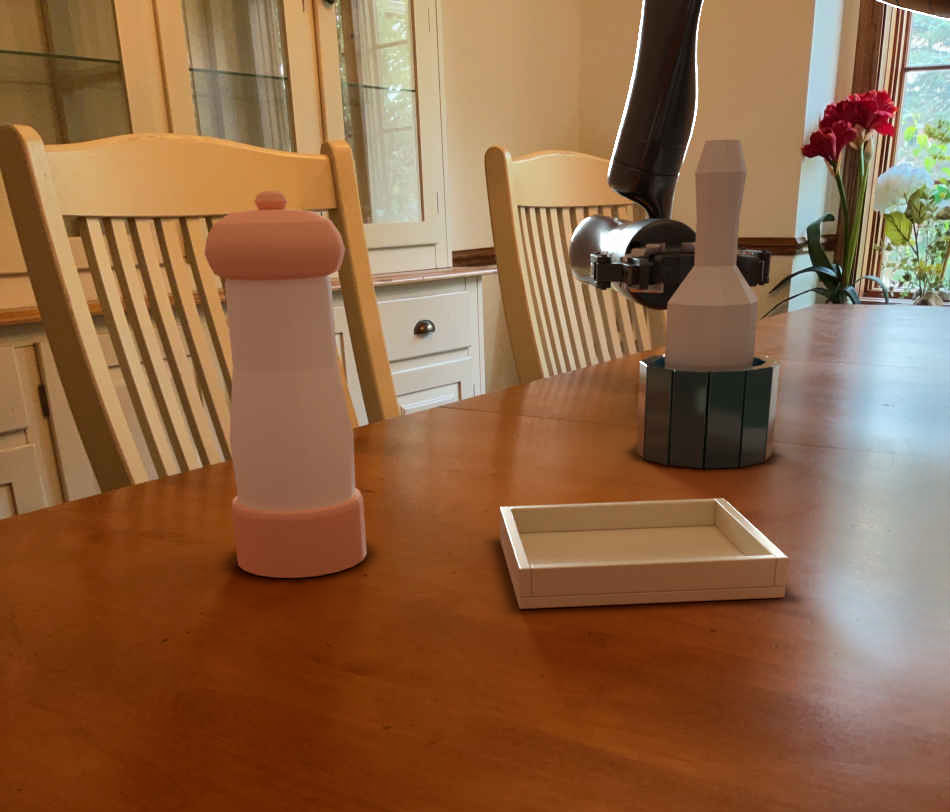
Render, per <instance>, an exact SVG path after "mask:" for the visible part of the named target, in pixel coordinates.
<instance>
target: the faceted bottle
mask: <svg viewBox="0 0 950 812" xmlns="http://www.w3.org/2000/svg"><path fill="white" fill-rule="evenodd" d="M747 173H748V170H747V167H746V161H745V156H744V151H743V146H742V141H741V140H740V139H714V140H712V139H711V140H705V141H704V145H703V148H702V149H701V153H700V156H699V160H698V163H697V166H696V169H695V173H694V179H695V205H696V206H695V207H696V209H695V210H696V225H695V232H696V242H695V260H694V267H693V268H692V270H691V271H690V272H689V274H688V275H687V276H686V278H685V279H684V281H683V282H682V283H681V285H680V286H679V288H678V289H677V290H676V292H675V293H674V294H673V296H672V297H671V299H670V300H669V301H668V303H667V310H666V324H665V325H666V326H665V347H664V350H665V351H664V355H665V366H668V367H675V368H683V369H705V370H715V369H740V368H747V367H752V364H753V359H754V355H755V347H756V335H757V321H758V309H759V299H758V298H757V296H756V295H755V293H754V291H753V290H752V287H749V285H748V283H747V282H746V280H745V278H744V277H743V275H742V274H741V272H740V270H739V269H738V267H737V266H736V259H737V250H738V244H739V243H738V242H739V230H740V229H739V228H740V227H739V226H740V217H741V211H742V205H743V204H742V203H743V197H744V191H745V186H746V180H747V179H746V178H747Z"/></svg>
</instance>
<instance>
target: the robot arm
mask: <svg viewBox="0 0 950 812" xmlns="http://www.w3.org/2000/svg"><path fill="white" fill-rule="evenodd" d="M877 2H881V3H883V4H886V5H890V6H892V7H895V8H899V9H902V10H906V11H910V12H913V13H917V14H921V15H925V16H930V17H934V18H937V19H942V20H947V21H950V0H877ZM703 3H704V0H642V8H641V15H640V17H641V18H640V24H639V32H638V40H637V46H636V53H635V60H634V65H633V71H632V76H631V80H630V84H629V90H628V93H627V97H626V102H625V106H624V110H623V113H622V118H621V121H620V125H619V129H618V132H617V136H616V140H615V144H614V148H613V151H612V155H611V158H610V162H609V167H608V171H607V177H606V179H607V180H606V181H607V185H608V187H609V188H610V190H611V191H612V192H613V193H615V194H616V195H619V196H620V197H621V198H624V199H625V200H628V201H630V202H632V203H633V204H636V205H638V206H639V207H641V208H642V209H643V210H644V211H645V216H644V219H640V220H633V221H632V220H628V219H623V218H618V217H615V216H609V215H605V214H599V213H597V214H596V213H595V214H592V215H589V216H587V217H586V218H584V219H583V220H582V221H581V222H580V223H579V224H578V226H577V227H576V228H575V230H574V232H573V234H572V237H571V239H570V243H569V248H568V263H569V267H570V270H571V272H572V274H573V277H574V278H575V279H576V280H577V281H578V282H579V283H581V284H584V285H588V286H593V288H595V289H600V291H607V290H612V291H613V290H614V291H615V292H617V293H619V294H620V295H621V296H622V297H624V298H625V299H626V300H629V301H630V302H632V303H635V304H637V305H640V306H642V307H644V308H646V309H650V310H655V311H667V303H668V301H669V300H670V299H671V297H672V296H673V294H674V293H675V292H676V290H677V289H678V288H679V286H680V285H681V283H682V282H683V281H684V279H685V278H686V276H687V275H688V274H689V272H690V271H691V270H692V268H693V267H694V260H695V242H696V230H695V229H693V227H691V226H689V225H688V224H686V223H684V222H682V221H680V220H676V219H672V215H673V207H674V206H673V205H674V198H675V193H676V188H677V184H678V182H679V181H678V180H679V177H680V173H681V170H682V167H683V164H684V162H685V161H684V160H685V157H686V154H687V151H688V147H689V145H690V141H691V138H692V135H693V131H694V127H695V122H696V116H697V111H698V98H699V97H698V95H699V83H698V80H699V79H698V34H699V23H700V17H701V12H702V8H703ZM771 259H772V251H768V249H760V250H756V249H747V247H740V248H739V249H737V259H736V266H737V267H738V269H739V270H740V272H741V274H742V275H743V277H744V278H745V280H746V282H747V283H748V285H749V287H750V288H756V287H757V286H765V284H767V285H768V284H770V278H771V277H770V270H771Z"/></svg>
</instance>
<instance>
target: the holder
mask: <svg viewBox="0 0 950 812" xmlns="http://www.w3.org/2000/svg"><path fill="white" fill-rule="evenodd" d="M780 367H781V361H779V360H777V359H774V358H772V357H769V356H765V355H758V354H757V355H756V354H754V359H753V364H752V367H747V368H740V369H715V370H705V369H683V368H675V367H668V366H665V354H658V355H652V356H651V355H650V356H648V357H645V358H644V359H641V360H639V374H638V375H639V378H638V405H637V430H636V431H637V432H636V453H637V455H639V456H640V457H641V458H642V459H643V460H644V461H647V462H648V461H649V462H652V463H656V464H660V465H664V466H670V467H675V468H689V469H700V470H702V469H704V470H711V469H713V470H715V469H737V468H744V467H749V466H753V465H759V464H763V463H765V462H766V461H767V460H768V459H769V458H770V457H771V456H772V455H773V448H774V447H773V446H774V435H775V434H774V433H775V425H776V423H775V422H776V414H777V413H776V412H777V401H778V389H779V380H780V379H779V378H780V377H779V375H780Z"/></svg>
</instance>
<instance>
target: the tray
mask: <svg viewBox="0 0 950 812" xmlns="http://www.w3.org/2000/svg"><path fill="white" fill-rule="evenodd" d="M499 541H500V545H501V549H502V552H503V554H504V555H503V556H504V559H505V563H506V567H507V570H508V574H509V576H510V579H511V584H512V587H513V591H514V594H515V598H516V601H517V604H518V608H519V609H520V610H527V609H528V610H529V609H553V608H572V607H573V608H575V607H597V606H617V605H620V606H621V605H645V604H665V603H687V602H688V603H689V602H691V603H692V602H708V601H709V602H711V601H712V602H713V601H735V600H757V599H779V598H785V594H786V585H787V584H786V583H787V575H788V573H787V572H788V563H789V557H788V556H787V555H786V554H785V553H784V552H782V550H780V549H779V547H777V546H776V545H775V544H774V543H773V542H772V541H770V540H769V539H768V538H767V537H766V536H765V535H764V534H763V533H762V532H761V531H759V529H758V528H756V527H755V526H754V524H752V523H751V522H750V521H749V520H748V519H747V518H746V517H745V516H744V515H743V514H741V513H740V512H739V511H738V510H737V509H736V508H735V507H734V506H732V504H730V502H728V501H727V500H726V499H725V498H724V497H718V498H717V497H715V498H690V499H663V500H662V499H661V500H641V501H639V500H638V501H635V500H634V501H613V502H589V503H588V502H586V503H559V504H537V505H536V504H535V505H533V504H532V505H511V506H509V505H508V506H507V505H506V506H500V507H499Z"/></svg>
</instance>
